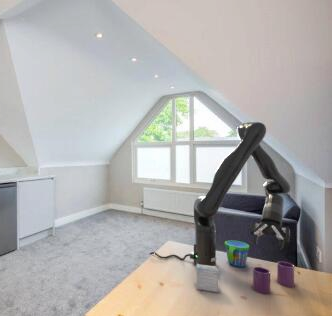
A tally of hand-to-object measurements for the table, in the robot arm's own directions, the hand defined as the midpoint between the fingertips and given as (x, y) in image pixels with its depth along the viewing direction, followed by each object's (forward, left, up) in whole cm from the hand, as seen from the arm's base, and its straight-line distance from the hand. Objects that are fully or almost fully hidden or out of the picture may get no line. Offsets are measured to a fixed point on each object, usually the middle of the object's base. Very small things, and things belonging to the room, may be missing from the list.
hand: (267, 246), depth 106 cm
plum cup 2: (+6, +2, -15) cm, 16 cm away
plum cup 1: (0, -11, -15) cm, 18 cm away
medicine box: (-16, -25, -15) cm, 33 cm away
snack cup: (-14, +8, -15) cm, 22 cm away
